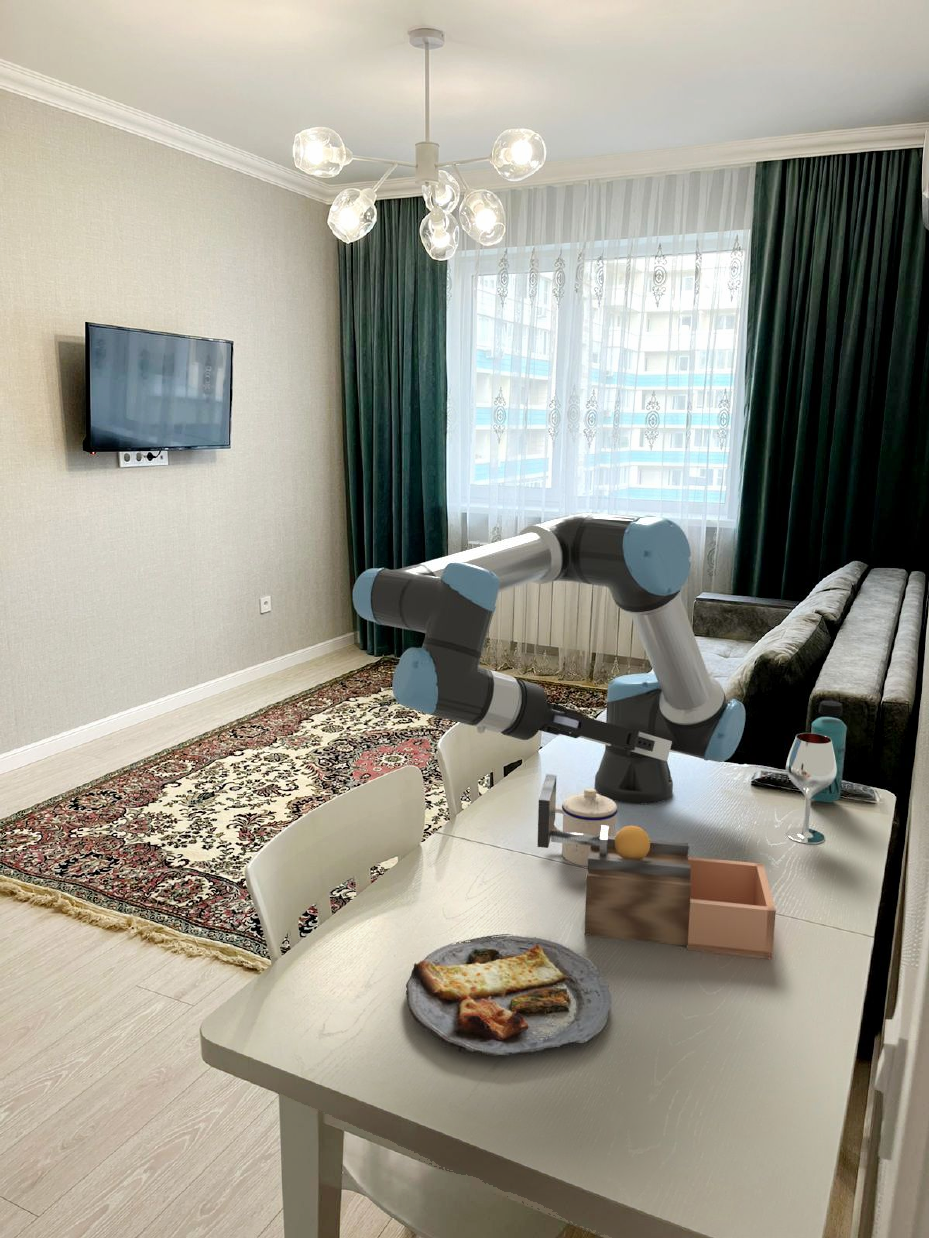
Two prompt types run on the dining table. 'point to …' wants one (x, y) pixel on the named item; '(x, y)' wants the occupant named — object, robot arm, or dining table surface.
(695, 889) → the cup
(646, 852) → the ball
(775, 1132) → the dining table surface
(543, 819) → the plunger
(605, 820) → the teacup with lid
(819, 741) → the wineglass
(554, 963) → the food plate
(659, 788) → the robot arm
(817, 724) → the beverage bottle
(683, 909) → the launcher
